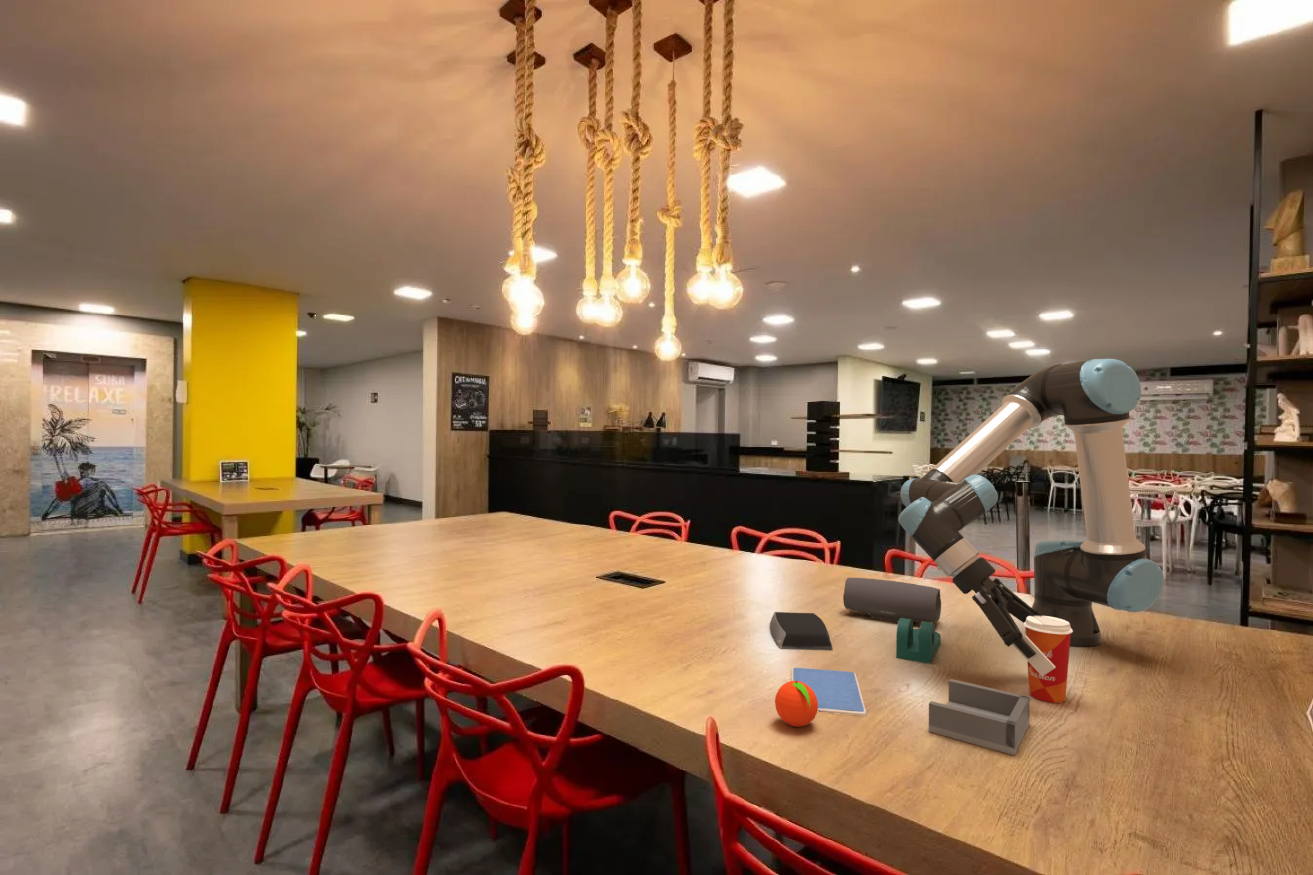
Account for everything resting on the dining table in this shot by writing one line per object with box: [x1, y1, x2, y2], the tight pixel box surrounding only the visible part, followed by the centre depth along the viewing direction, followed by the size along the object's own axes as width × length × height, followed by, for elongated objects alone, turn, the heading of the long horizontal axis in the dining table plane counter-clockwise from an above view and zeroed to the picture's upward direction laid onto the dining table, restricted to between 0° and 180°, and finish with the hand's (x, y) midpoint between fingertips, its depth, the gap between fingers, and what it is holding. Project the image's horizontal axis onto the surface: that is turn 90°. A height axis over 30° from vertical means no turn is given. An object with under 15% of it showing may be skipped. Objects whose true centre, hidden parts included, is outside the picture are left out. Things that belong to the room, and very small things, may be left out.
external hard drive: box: [769, 611, 834, 651], centre depth 151 cm, size 13×19×4 cm
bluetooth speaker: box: [842, 577, 942, 623], centre depth 165 cm, size 23×9×10 cm, turn 58°
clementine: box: [774, 680, 818, 728], centre depth 104 cm, size 8×7×7 cm
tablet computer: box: [790, 667, 867, 717], centre depth 118 cm, size 19×13×1 cm, turn 168°
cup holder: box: [928, 678, 1031, 756], centre depth 104 cm, size 12×13×4 cm
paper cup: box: [1023, 616, 1073, 704], centre depth 116 cm, size 8×8×14 cm
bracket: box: [895, 618, 942, 665], centre depth 142 cm, size 18×7×8 cm, turn 148°
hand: (1054, 661), depth 115 cm, fingers open, 13 cm apart
